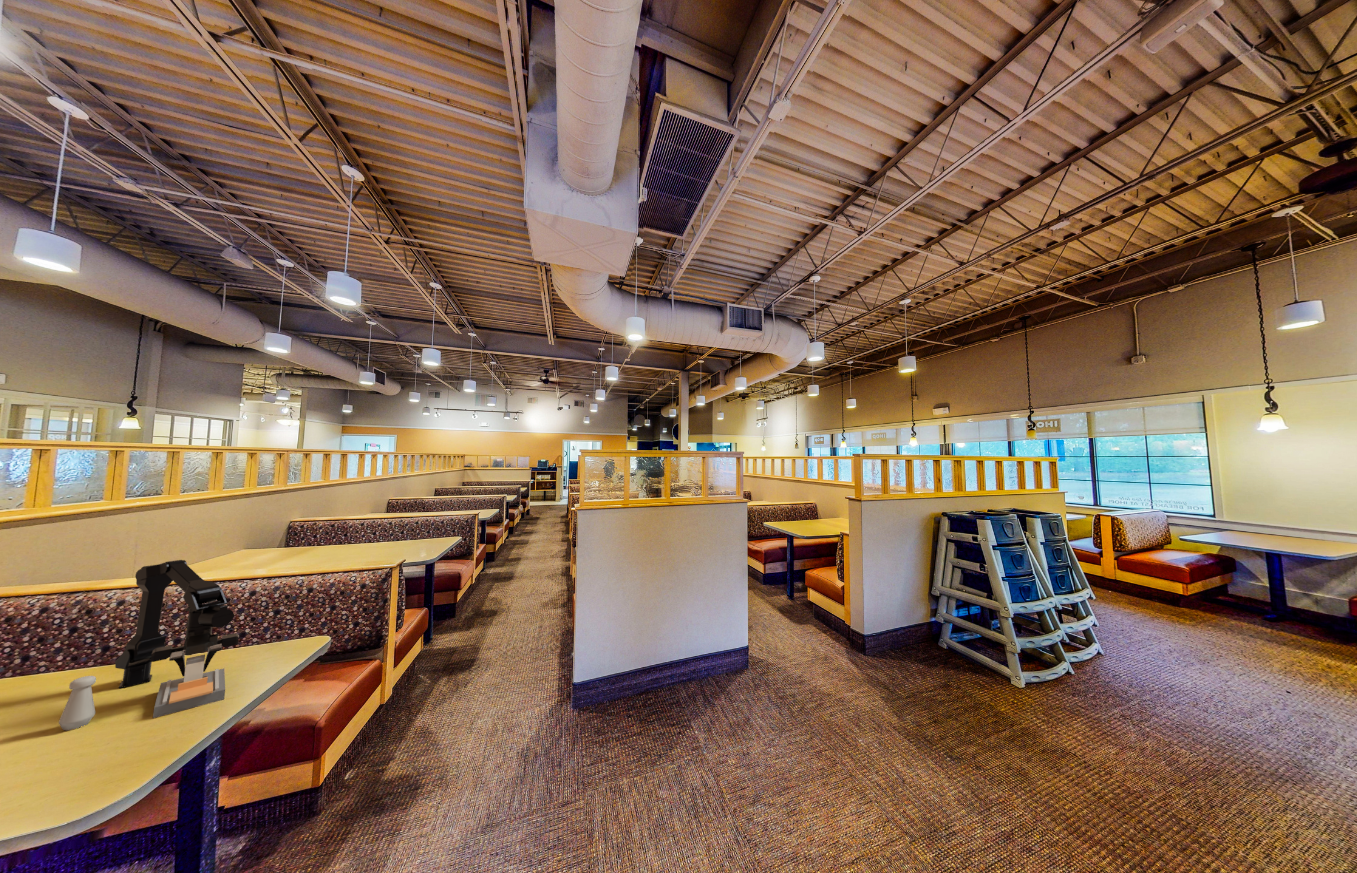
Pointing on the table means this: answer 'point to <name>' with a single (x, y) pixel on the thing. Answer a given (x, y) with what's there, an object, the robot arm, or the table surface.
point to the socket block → (167, 687)
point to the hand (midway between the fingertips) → (193, 673)
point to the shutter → (191, 690)
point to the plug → (194, 668)
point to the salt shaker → (79, 704)
